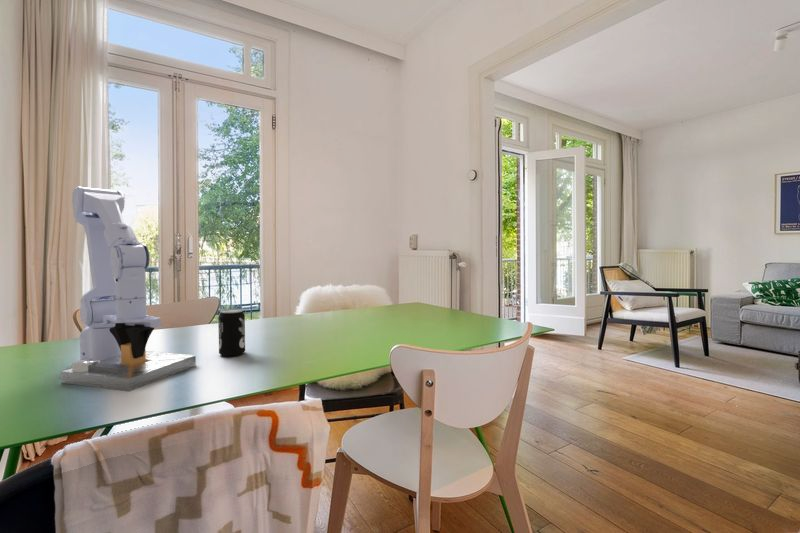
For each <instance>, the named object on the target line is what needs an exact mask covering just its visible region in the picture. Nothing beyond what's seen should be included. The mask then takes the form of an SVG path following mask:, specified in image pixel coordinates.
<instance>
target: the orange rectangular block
mask: <svg viewBox="0 0 800 533" xmlns="http://www.w3.org/2000/svg"><path fill="white" fill-rule="evenodd" d="M146 351H147V350H145V351H144V355H143V356H142V357H139V358H133V355H132V348H131V343H127V344H124V345H121V364H122V365H128V367H132V366H135V365H138V364H141V363H145V362H146Z"/></svg>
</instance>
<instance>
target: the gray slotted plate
mask: <svg viewBox="0 0 800 533" xmlns="http://www.w3.org/2000/svg"><path fill="white" fill-rule="evenodd" d="M145 351H146V362H145V363H141V364H138V365H135V366H132V367H128V365H122V364H121V355H118V356H114V357H111V358H107V359H104V360H100V359H84V360H79V361H77V360H76V361H73V362H72V363H71V368H70V369H65V370H62V371H60V372H61V384H68V385H75V386H76V385H77V386H83V387H92V388H99V389H100V388H101V389H102V388H103V389H107V390H108V389H109V390H118V391H122V392H123V391H124V392H130V391H133V390H135V389H138V388H141V387H143V386H146V385H149V384H152V383H154V382H157V381H159V380H161V379H164V378H166V377H169V376H172V375H175V374H177V373H179V372H183V371H186V370H187V369H190V368H192V367H193V368H194V367H196V365H197V362H196V359H197V356H196V355H194V354H184V353H173V352H172V353H171V352H162V351H161V352H160V351H154V350H153V351H152V350H145Z"/></svg>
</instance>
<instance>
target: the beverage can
mask: <svg viewBox="0 0 800 533" xmlns="http://www.w3.org/2000/svg"><path fill="white" fill-rule="evenodd" d="M219 312H220V313H219V315H218V317H217V321H218V322H217V323H218V325H217V326H218V354H220V356H221V357H224V358H233V357H238V356H242V355H243V354H244V353H245V351H246V318H245V317H246V315H245V313H244V310H243V309H242V308H241V309H240V308H228V309H227V308H226V309H221V310H220V311H219Z"/></svg>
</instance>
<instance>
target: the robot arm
mask: <svg viewBox="0 0 800 533" xmlns="http://www.w3.org/2000/svg"><path fill="white" fill-rule="evenodd" d="M71 199H72V200H71V201H72V202H71V204H72V211H73V216H74V219H75V222H76V223H78V224H80V225H82V226H83V229H84V231H85V232H84V233H85V238H86V244H87V252H88V259H89V261H88V262H89V267H90V276H91V282H92V283H91V284H92V287H91V289H90V290H89V291H87V292H85V293H84V294H83V295H82V296H81V298H80V300H79V301H80V302H79V303H80V309H79V310H80V312H79V314H80V316H79V317H80V319H81V320H80V321H81V323H82V324H83V325H84V328H83V329H82V330H81V331H80V334H79V353H80V354H79V355H80V356H79V359H77V360H76V361H79V360H84V359H100V360H104V359H107V358H111V357H114V356H118V355H121V345H124V344H127V343H131V348H132V355H133V358H139V357H142V356H143V355H144V351H146V347H147V344H148V340H149V338H150V336H151V335H152V333H153V331H154V330H155V328H159V327H162V317H157V316H152V315H148V314H147V313H148V312H147V287H146V286H147V283H146V282H147V280H146V279H147V278H146V277H147V275H146V270H148V269H149V267H150V262H151V255H150V254H151V253H150V251H149V247H148V246H147V245H146V244H145V243H143V242H139V240H138V238H137V236H136V234H135V232H134V230H133V227H132V226H131V225H129V224H128V223H125V222H124V219H123V216H122V213H123V212H124V210H125V197H124V194H123V192H122V191H121V190H120V189H116V190H114V189H104V188H93V187H83V186H80V185H77V186H76V187H75V188H73V190H72V195H71Z"/></svg>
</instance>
